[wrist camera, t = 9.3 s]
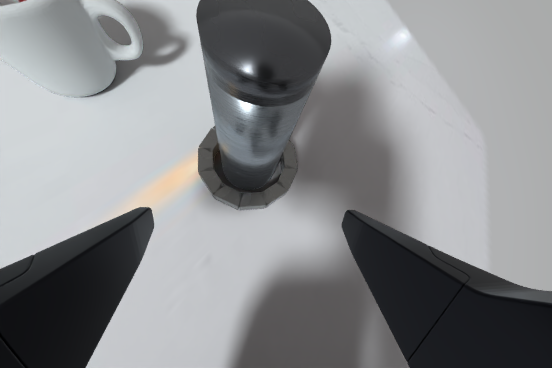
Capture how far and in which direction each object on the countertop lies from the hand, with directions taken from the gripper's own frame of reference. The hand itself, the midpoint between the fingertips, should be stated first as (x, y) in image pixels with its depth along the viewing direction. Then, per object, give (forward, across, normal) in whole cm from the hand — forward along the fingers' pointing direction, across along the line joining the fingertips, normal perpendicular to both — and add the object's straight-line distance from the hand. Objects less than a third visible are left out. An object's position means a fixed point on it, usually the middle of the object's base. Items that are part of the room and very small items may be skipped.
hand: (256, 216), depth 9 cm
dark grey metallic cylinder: (+11, 0, +1) cm, 11 cm away
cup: (+17, +15, -5) cm, 23 cm away
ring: (+11, 0, +1) cm, 11 cm away
